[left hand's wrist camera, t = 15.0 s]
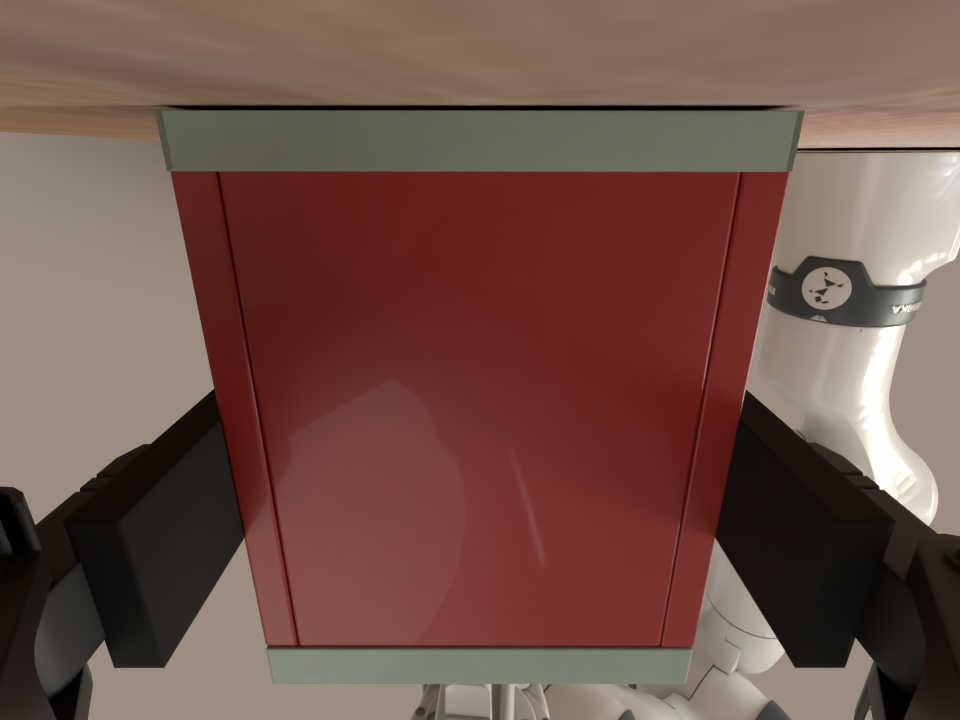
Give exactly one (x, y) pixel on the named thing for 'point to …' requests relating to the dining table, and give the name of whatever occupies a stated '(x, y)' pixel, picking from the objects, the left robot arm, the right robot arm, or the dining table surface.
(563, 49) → the dining table surface
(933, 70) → the dining table surface
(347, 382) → the chest
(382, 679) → the lid
